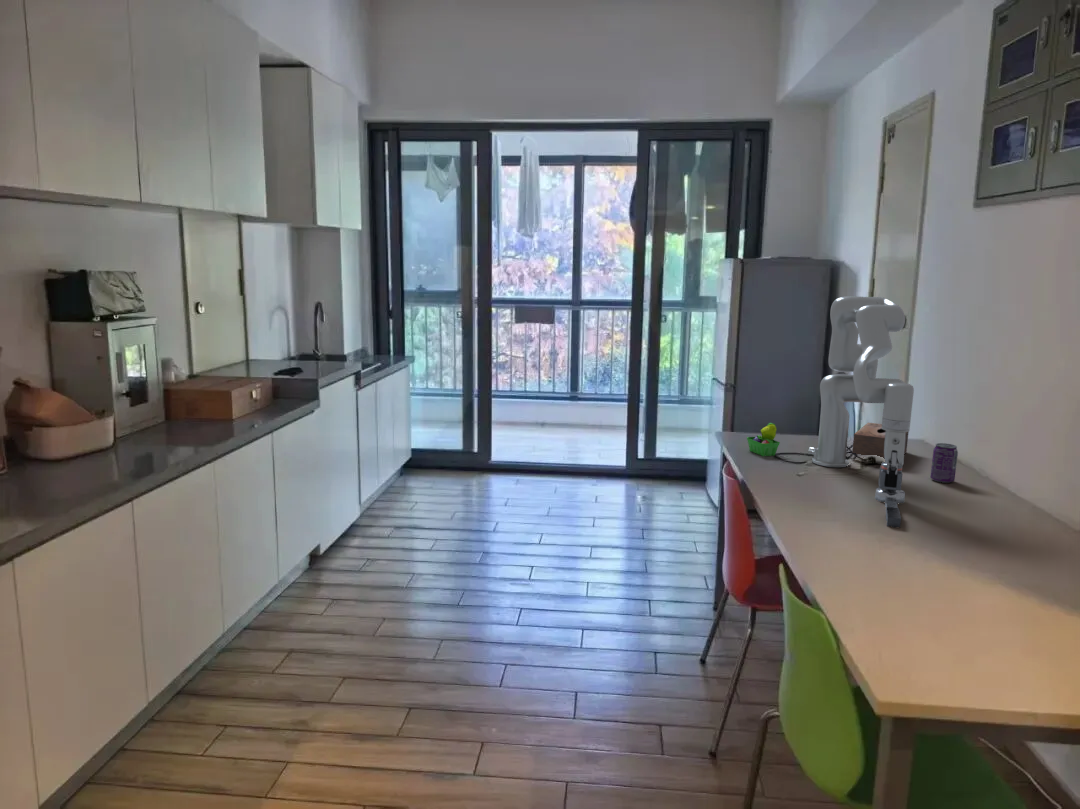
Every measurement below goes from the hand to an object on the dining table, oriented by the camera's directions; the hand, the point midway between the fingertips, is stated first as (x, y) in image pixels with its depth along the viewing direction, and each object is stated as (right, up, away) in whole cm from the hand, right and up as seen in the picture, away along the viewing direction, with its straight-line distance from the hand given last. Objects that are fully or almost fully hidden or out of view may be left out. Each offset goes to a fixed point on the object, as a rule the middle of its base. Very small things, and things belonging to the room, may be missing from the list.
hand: (889, 483), depth 230 cm
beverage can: (+28, -2, +23) cm, 36 cm away
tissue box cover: (+21, +4, +55) cm, 59 cm away
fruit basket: (-21, +5, +56) cm, 60 cm away
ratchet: (-4, -7, -9) cm, 12 cm away
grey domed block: (0, -1, 0) cm, 1 cm away
